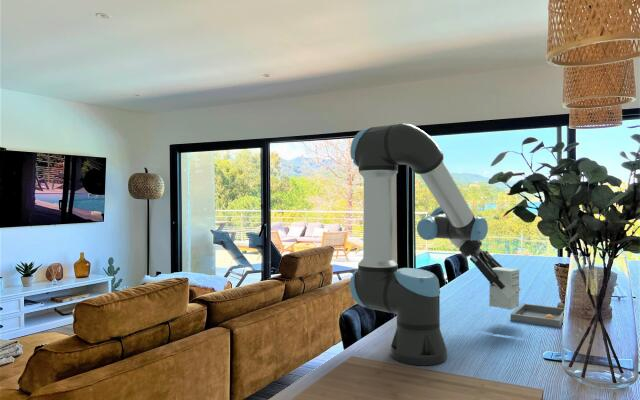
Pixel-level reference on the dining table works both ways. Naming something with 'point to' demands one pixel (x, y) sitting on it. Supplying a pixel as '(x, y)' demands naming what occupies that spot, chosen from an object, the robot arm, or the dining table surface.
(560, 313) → the tray
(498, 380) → the dining table surface
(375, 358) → the dining table surface
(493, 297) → the supplement box
